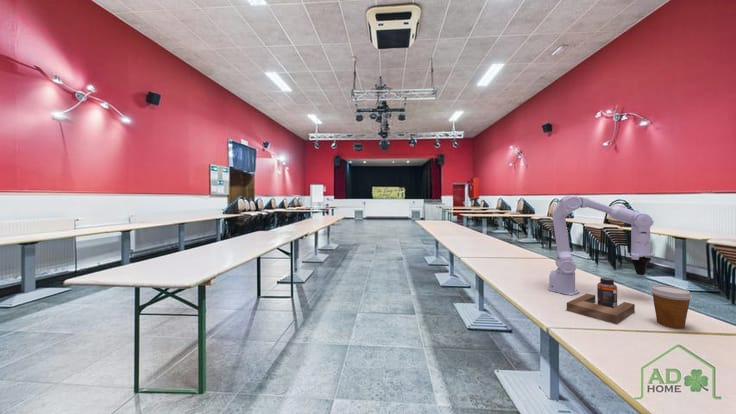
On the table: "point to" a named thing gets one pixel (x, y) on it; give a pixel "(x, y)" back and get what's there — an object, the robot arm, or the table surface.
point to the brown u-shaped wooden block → (600, 309)
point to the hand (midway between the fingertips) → (640, 274)
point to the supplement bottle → (607, 292)
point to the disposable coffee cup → (671, 305)
